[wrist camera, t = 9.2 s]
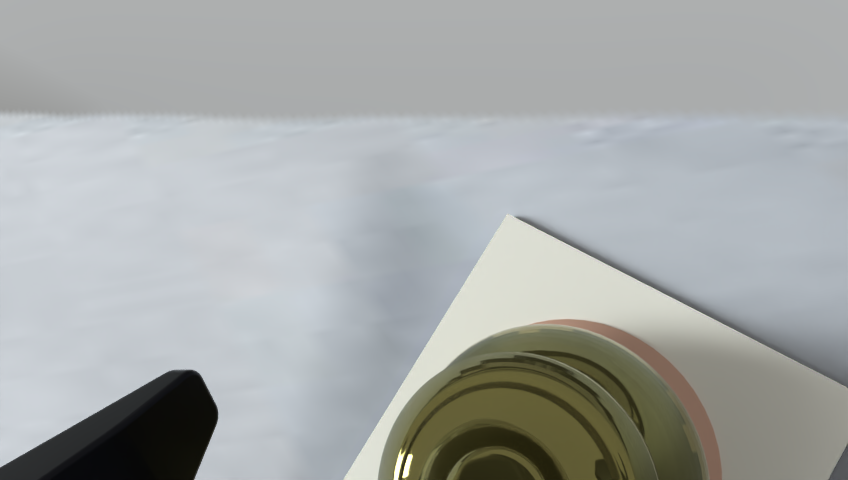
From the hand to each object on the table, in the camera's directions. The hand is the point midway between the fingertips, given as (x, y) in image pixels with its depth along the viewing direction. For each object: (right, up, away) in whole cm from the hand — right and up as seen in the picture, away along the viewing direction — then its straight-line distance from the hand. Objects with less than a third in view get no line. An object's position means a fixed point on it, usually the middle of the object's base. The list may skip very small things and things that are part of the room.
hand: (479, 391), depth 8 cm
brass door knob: (+4, -5, +10) cm, 12 cm away
